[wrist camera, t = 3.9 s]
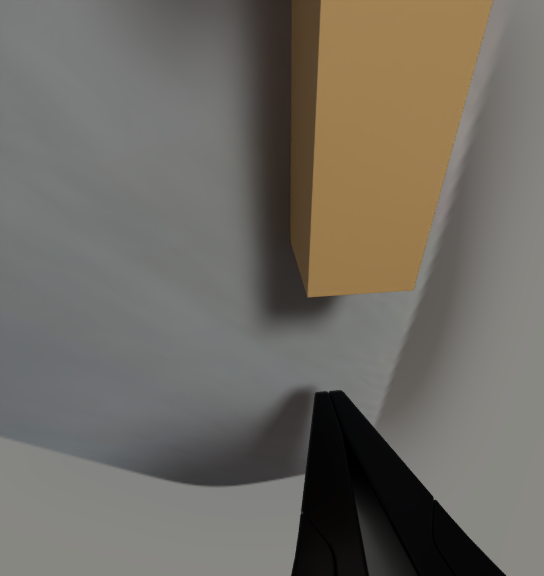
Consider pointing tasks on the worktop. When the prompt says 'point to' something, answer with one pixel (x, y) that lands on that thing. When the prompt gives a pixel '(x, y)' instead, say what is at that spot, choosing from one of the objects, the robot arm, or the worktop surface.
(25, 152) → the worktop surface
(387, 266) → the plug
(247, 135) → the worktop surface
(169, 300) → the worktop surface
